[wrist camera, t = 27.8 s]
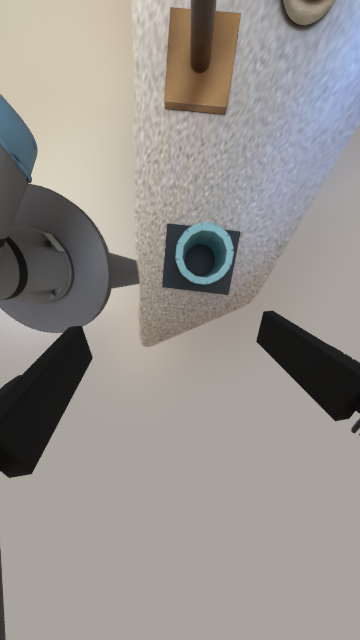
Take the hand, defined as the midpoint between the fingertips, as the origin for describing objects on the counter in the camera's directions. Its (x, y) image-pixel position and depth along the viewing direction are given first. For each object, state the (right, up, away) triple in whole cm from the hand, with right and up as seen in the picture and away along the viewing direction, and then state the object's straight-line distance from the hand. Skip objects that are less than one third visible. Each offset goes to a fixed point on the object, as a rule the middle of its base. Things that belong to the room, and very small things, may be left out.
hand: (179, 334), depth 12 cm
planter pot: (+4, +13, +20) cm, 24 cm away
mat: (+4, +13, +21) cm, 25 cm away
